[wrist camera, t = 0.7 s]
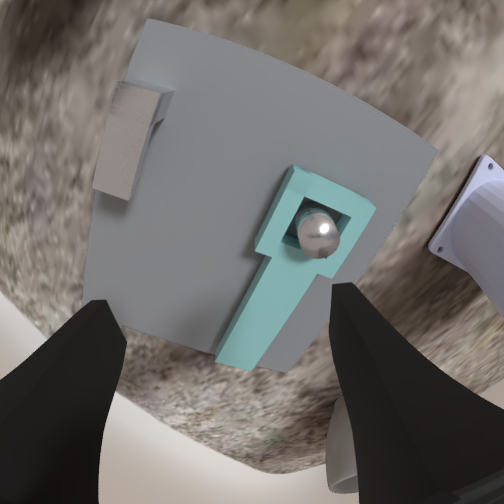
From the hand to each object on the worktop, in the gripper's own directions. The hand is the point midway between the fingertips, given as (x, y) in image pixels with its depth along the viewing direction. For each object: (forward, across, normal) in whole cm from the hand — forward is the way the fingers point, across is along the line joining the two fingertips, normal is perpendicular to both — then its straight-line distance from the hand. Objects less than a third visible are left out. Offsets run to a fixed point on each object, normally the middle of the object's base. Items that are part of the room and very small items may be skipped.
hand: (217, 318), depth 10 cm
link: (+8, -2, +5) cm, 10 cm away
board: (+10, 0, +2) cm, 10 cm away
